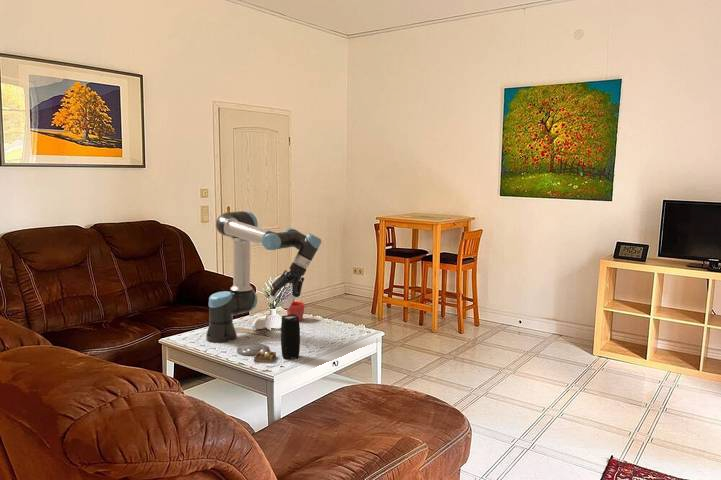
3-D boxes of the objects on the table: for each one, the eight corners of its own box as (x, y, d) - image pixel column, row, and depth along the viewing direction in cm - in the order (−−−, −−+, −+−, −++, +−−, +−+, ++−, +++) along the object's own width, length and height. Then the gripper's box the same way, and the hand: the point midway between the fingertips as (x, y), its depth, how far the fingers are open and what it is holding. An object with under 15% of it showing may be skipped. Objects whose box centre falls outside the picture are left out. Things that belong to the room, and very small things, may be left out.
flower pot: (297, 323, 313) (297, 306, 312) (282, 320, 319) (282, 304, 318) (308, 319, 323) (308, 303, 321) (293, 316, 328) (293, 300, 327)
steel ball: (260, 354, 256) (260, 348, 255) (267, 354, 255) (267, 348, 255) (258, 356, 253) (258, 350, 252) (265, 356, 252) (265, 350, 252)
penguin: (255, 336, 298) (281, 326, 298) (249, 322, 296) (275, 312, 297) (257, 332, 306) (282, 322, 307) (251, 318, 305) (276, 308, 306)
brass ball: (265, 357, 252) (264, 350, 252) (271, 357, 252) (271, 351, 252) (263, 359, 249) (263, 352, 249) (269, 359, 249) (269, 353, 249)
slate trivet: (242, 345, 272) (242, 343, 272) (272, 346, 271) (272, 344, 271) (232, 355, 258) (232, 352, 257) (264, 356, 256) (263, 354, 256)
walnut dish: (259, 355, 257) (258, 351, 257) (275, 356, 256) (275, 352, 256) (254, 361, 249) (254, 357, 249) (271, 362, 248) (271, 357, 248)
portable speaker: (291, 352, 262) (291, 312, 259) (304, 357, 255) (304, 316, 253) (277, 356, 256) (276, 315, 253) (289, 361, 249) (289, 319, 247)
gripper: (290, 262, 246) (267, 303, 246) (319, 274, 268) (298, 312, 267) (279, 255, 250) (256, 296, 250) (308, 267, 271) (287, 305, 271)
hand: (278, 305), depth 258 cm, fingers open, 13 cm apart
